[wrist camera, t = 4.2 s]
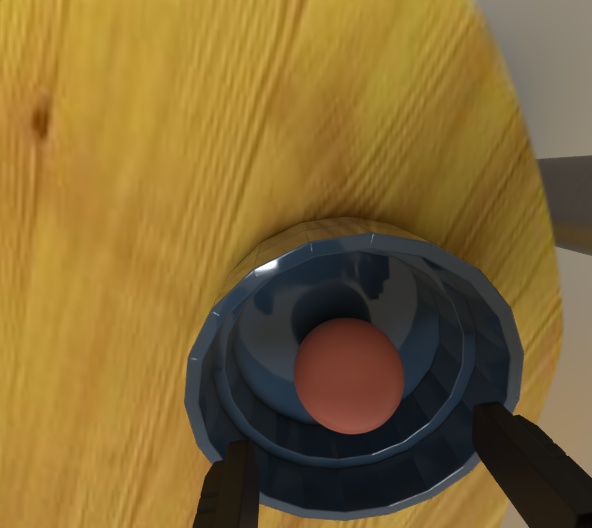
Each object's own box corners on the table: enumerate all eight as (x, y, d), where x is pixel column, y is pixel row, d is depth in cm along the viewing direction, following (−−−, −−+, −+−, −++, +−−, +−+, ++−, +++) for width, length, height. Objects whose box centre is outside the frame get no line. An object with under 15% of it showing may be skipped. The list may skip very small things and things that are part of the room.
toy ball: (380, 294, 16) (424, 347, 11) (385, 374, 18) (426, 453, 13) (285, 308, 16) (286, 368, 11) (298, 387, 17) (305, 471, 13)
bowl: (458, 197, 15) (539, 207, 10) (454, 417, 19) (510, 496, 14) (185, 238, 15) (141, 266, 10) (239, 449, 19) (225, 539, 14)
